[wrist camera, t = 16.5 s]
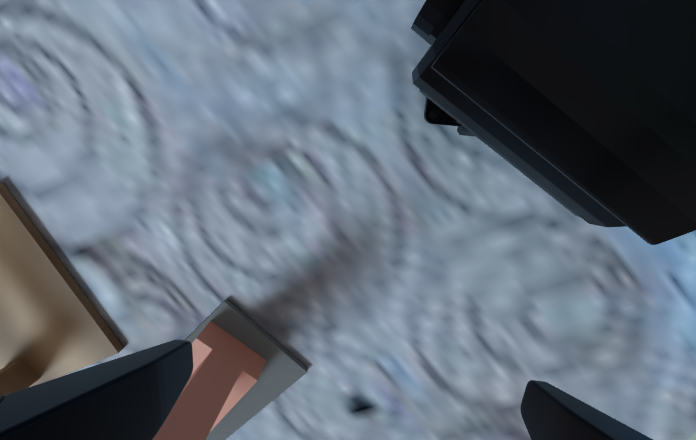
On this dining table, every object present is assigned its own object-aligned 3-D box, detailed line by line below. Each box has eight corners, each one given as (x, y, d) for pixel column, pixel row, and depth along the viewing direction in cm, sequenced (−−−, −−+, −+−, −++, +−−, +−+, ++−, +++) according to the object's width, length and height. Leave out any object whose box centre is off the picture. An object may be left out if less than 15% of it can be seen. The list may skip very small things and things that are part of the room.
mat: (226, 298, 23) (224, 301, 23) (308, 368, 25) (307, 372, 24) (134, 390, 26) (130, 394, 26) (211, 448, 27) (209, 452, 27)
